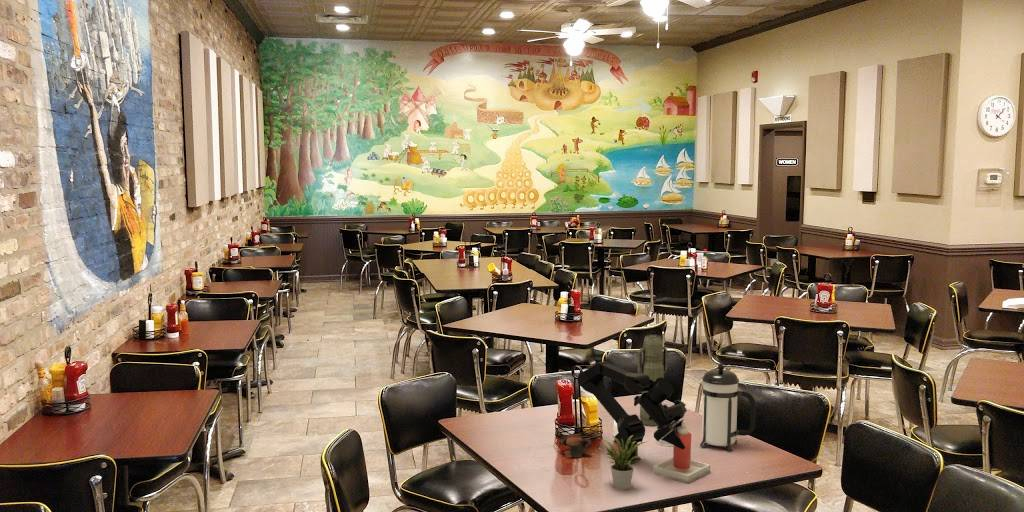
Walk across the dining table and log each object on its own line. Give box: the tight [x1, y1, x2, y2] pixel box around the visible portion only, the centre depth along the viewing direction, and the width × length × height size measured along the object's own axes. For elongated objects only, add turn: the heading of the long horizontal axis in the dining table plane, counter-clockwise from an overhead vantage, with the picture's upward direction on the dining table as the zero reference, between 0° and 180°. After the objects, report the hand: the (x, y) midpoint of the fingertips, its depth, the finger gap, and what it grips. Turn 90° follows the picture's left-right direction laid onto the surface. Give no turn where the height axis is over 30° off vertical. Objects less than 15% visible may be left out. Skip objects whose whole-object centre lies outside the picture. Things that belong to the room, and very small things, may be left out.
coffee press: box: [698, 363, 757, 452], centre depth 302 cm, size 17×16×30 cm
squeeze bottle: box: [672, 422, 692, 469], centre depth 275 cm, size 6×6×15 cm
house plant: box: [603, 435, 647, 490], centre depth 264 cm, size 14×14×16 cm
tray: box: [652, 457, 711, 484], centre depth 276 cm, size 14×13×2 cm
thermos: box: [637, 334, 668, 428], centre depth 329 cm, size 9×12×35 cm
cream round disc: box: [655, 438, 674, 448], centre depth 307 cm, size 10×10×4 cm
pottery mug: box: [558, 433, 593, 459], centre depth 294 cm, size 12×10×8 cm
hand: (686, 445), depth 275 cm, fingers closed on squeeze bottle, 5 cm apart
